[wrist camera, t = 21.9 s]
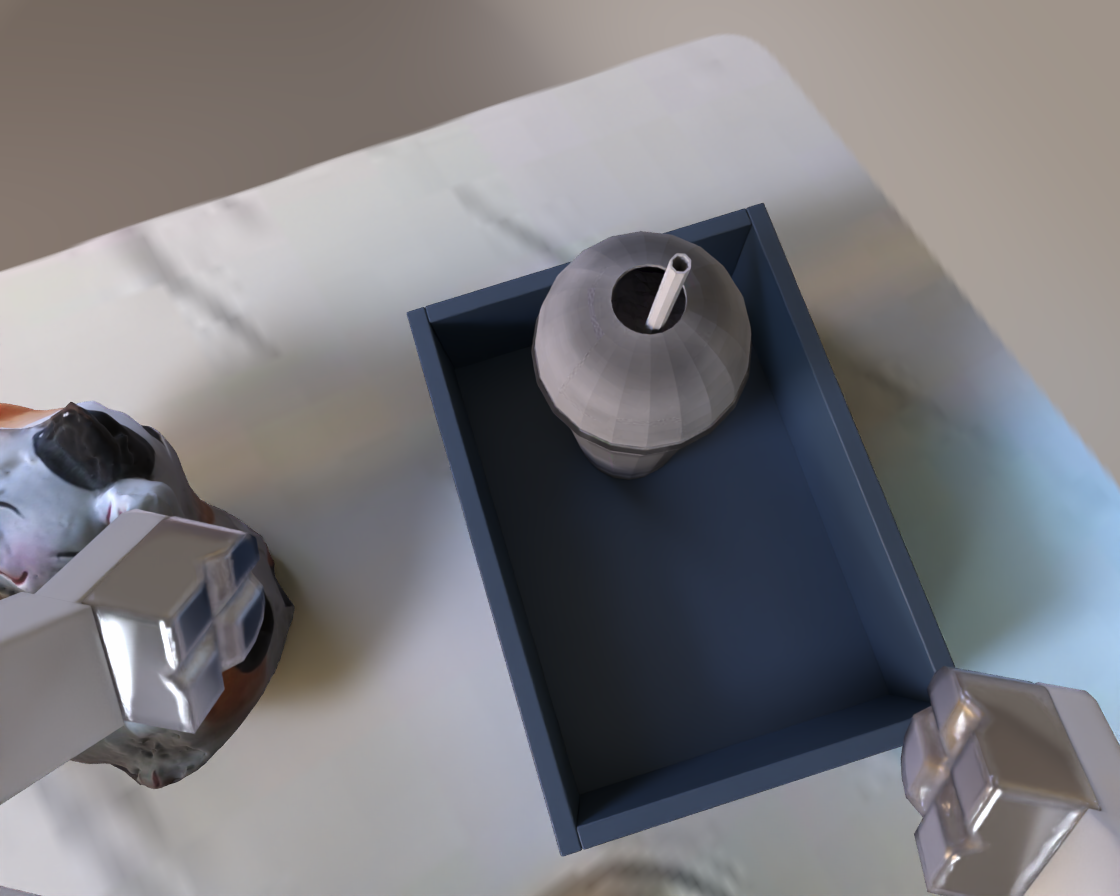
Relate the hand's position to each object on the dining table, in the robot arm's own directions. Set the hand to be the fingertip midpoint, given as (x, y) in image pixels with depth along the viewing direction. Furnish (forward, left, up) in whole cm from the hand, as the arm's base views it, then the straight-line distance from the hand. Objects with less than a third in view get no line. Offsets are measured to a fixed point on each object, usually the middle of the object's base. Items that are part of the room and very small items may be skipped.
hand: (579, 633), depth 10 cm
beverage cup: (-4, -8, -27) cm, 29 cm away
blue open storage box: (-4, -4, -28) cm, 29 cm away
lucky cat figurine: (+20, -8, -28) cm, 35 cm away
